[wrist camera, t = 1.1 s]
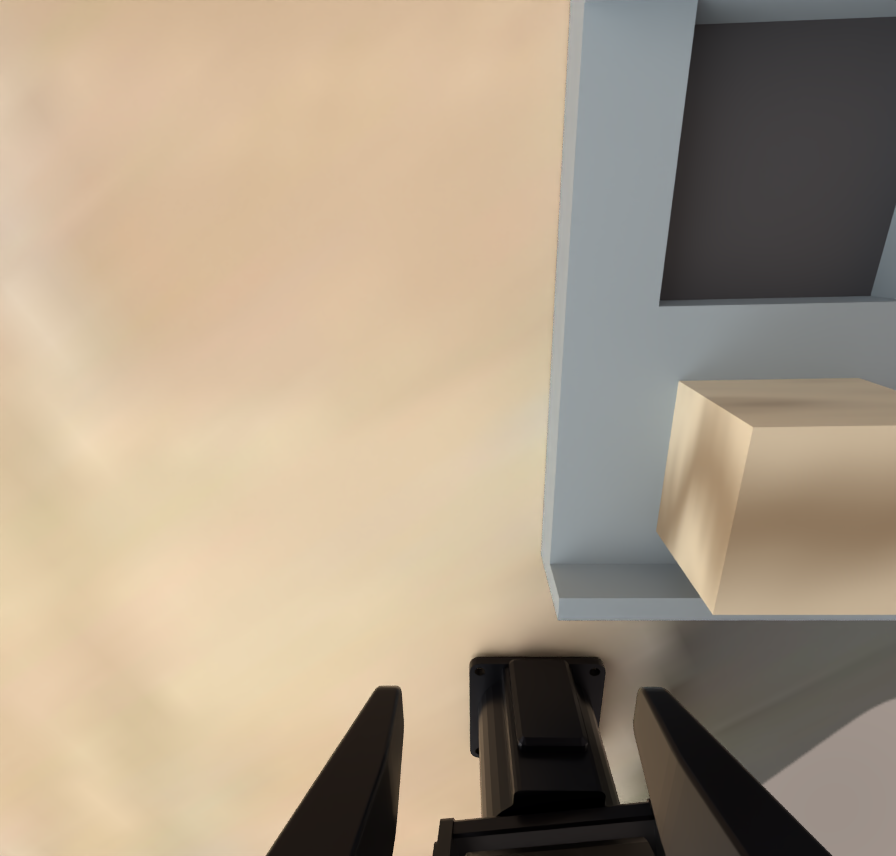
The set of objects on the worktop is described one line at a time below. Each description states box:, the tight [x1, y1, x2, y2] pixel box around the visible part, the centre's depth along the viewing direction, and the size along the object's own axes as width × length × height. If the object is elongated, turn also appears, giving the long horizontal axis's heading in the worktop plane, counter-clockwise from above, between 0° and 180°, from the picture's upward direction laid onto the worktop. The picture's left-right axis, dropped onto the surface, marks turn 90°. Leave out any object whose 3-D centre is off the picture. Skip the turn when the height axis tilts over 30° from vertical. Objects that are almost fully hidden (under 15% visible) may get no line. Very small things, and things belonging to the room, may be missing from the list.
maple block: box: [656, 378, 896, 615], centre depth 15 cm, size 6×6×4 cm
